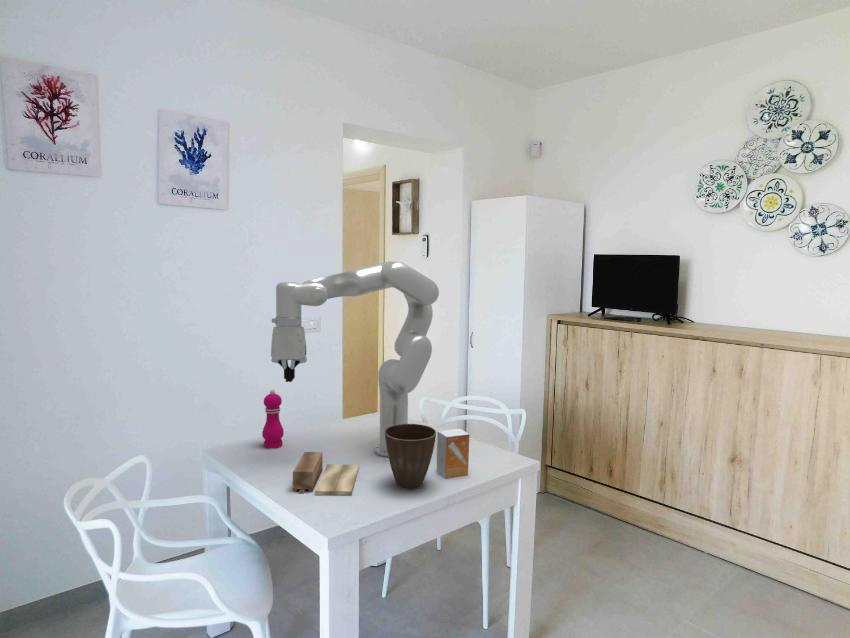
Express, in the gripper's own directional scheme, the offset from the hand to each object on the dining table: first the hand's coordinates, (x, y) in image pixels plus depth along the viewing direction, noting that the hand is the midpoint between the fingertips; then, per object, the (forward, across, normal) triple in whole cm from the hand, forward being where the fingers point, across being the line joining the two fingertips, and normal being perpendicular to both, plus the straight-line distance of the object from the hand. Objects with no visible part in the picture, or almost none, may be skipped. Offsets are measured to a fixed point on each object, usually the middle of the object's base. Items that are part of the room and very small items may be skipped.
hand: (289, 380), depth 171 cm
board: (+27, +15, -12) cm, 33 cm away
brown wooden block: (+27, +8, -12) cm, 31 cm away
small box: (+27, +51, -5) cm, 58 cm away
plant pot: (+27, +38, -14) cm, 49 cm away
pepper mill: (+27, -10, +18) cm, 34 cm away
